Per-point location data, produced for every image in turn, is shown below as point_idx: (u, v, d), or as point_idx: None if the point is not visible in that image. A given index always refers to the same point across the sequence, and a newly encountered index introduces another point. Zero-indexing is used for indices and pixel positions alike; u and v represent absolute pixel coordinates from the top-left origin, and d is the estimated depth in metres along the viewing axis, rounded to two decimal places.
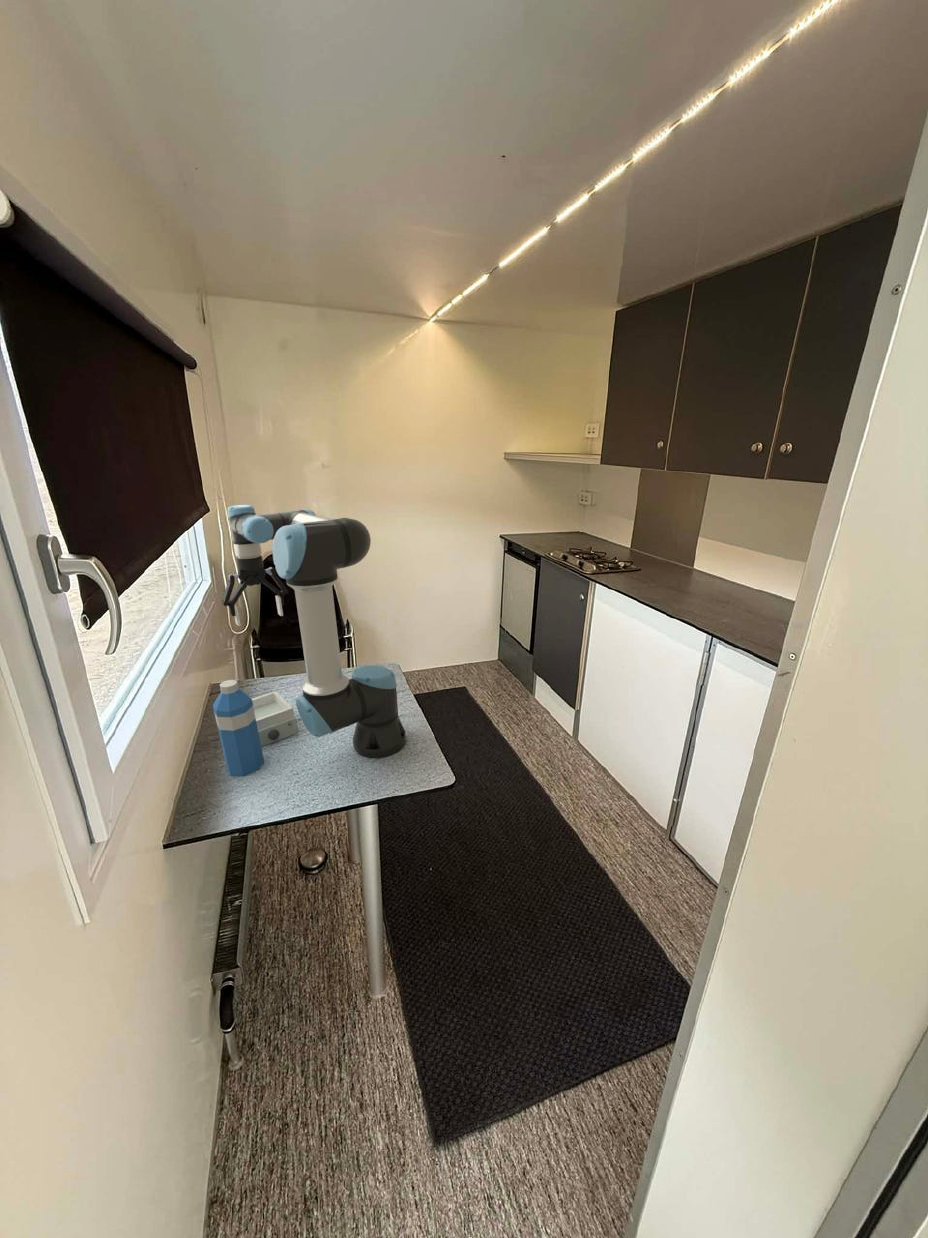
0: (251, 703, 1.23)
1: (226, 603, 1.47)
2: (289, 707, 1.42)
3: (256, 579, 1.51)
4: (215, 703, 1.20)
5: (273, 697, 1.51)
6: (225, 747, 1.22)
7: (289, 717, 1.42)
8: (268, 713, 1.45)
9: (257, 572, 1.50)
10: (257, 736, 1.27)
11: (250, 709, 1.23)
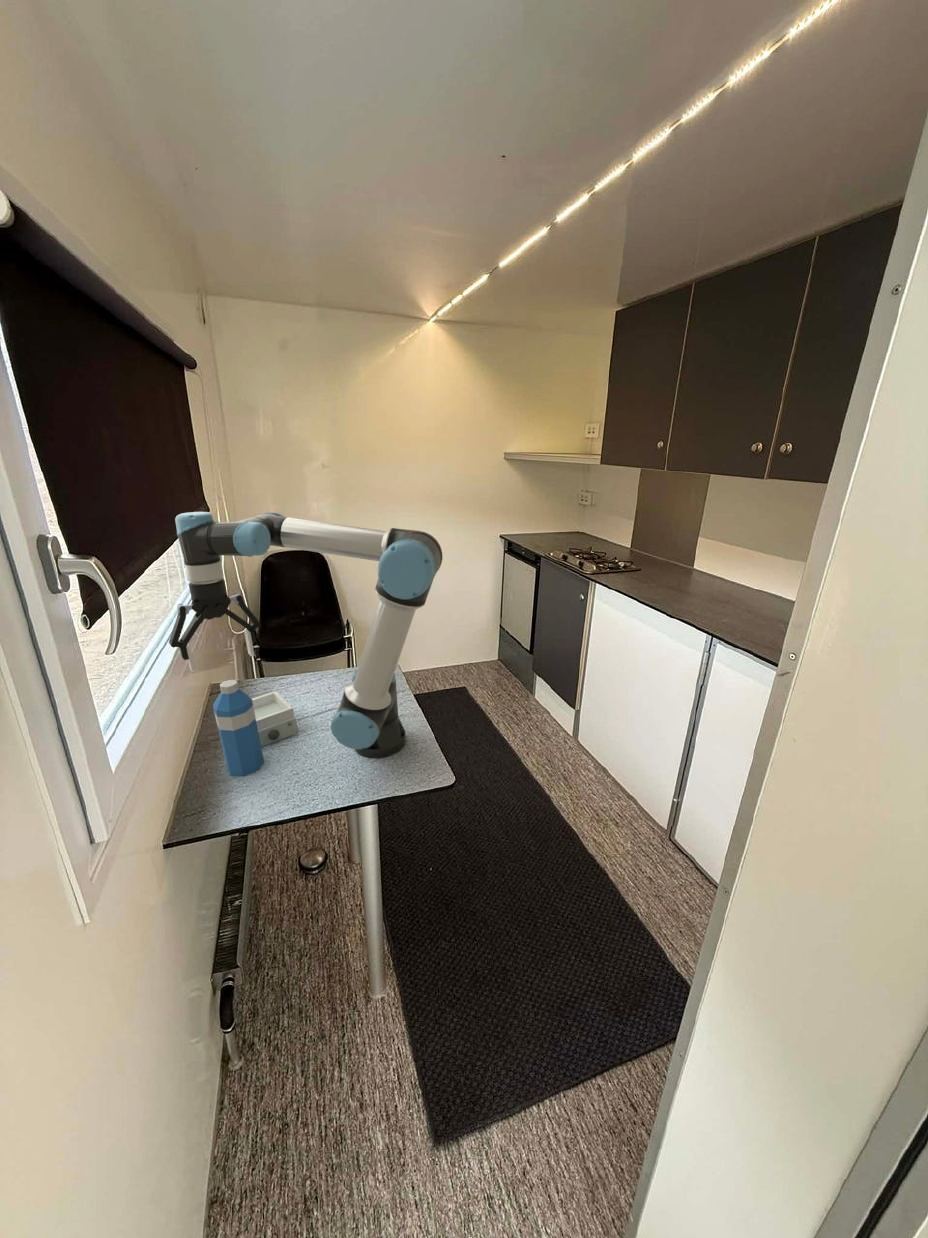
0: (251, 703, 1.23)
1: (175, 644, 1.09)
2: (289, 707, 1.42)
3: (217, 610, 1.13)
4: (215, 703, 1.20)
5: (273, 697, 1.51)
6: (225, 747, 1.22)
7: (289, 717, 1.42)
8: (268, 713, 1.45)
9: (218, 601, 1.13)
10: (257, 736, 1.27)
11: (250, 709, 1.23)
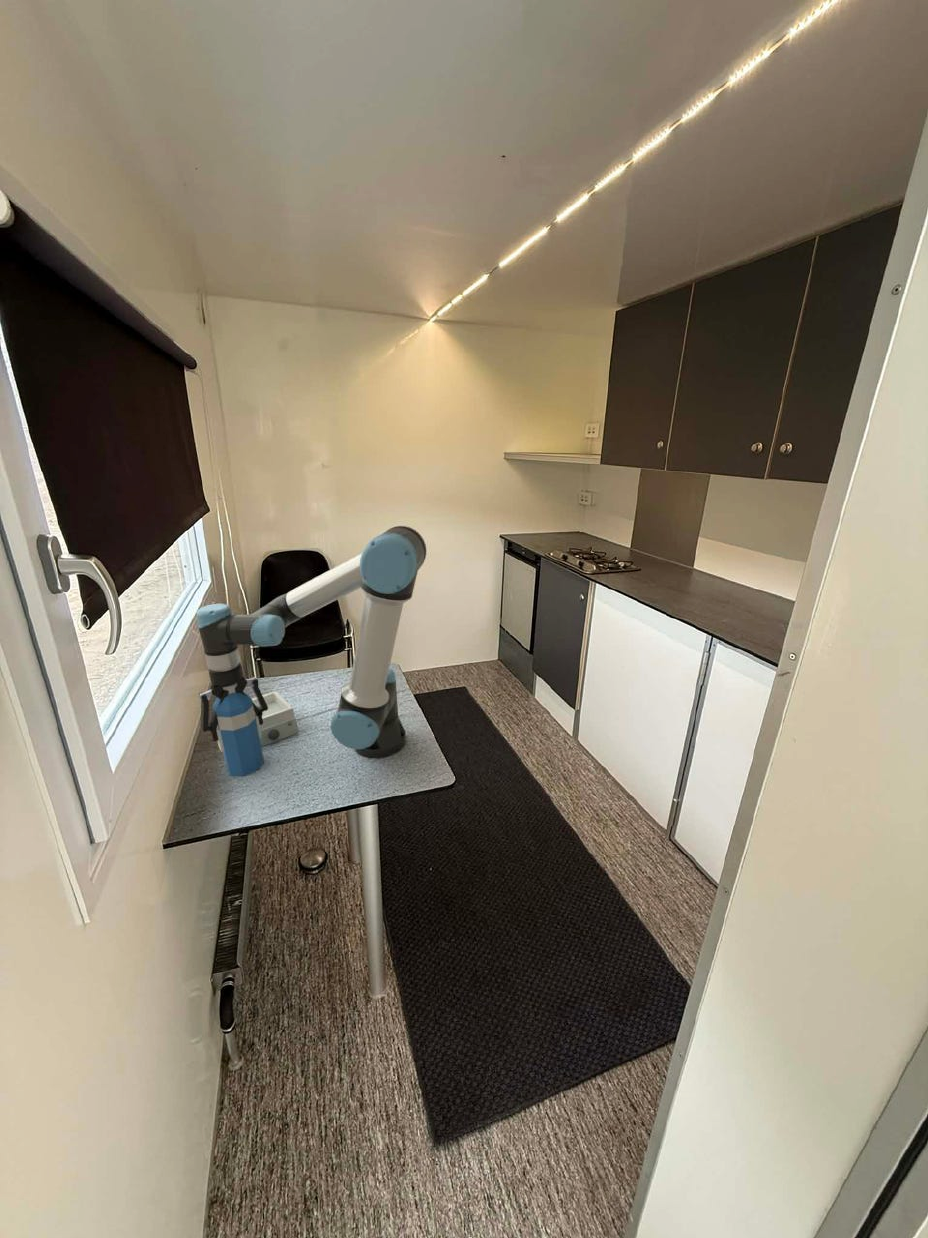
0: (251, 703, 1.23)
1: (206, 728, 1.18)
2: (289, 707, 1.42)
3: None
4: (215, 703, 1.20)
5: (273, 697, 1.51)
6: (225, 747, 1.22)
7: (289, 717, 1.42)
8: (268, 713, 1.45)
9: (236, 682, 1.21)
10: (257, 736, 1.27)
11: (250, 709, 1.23)
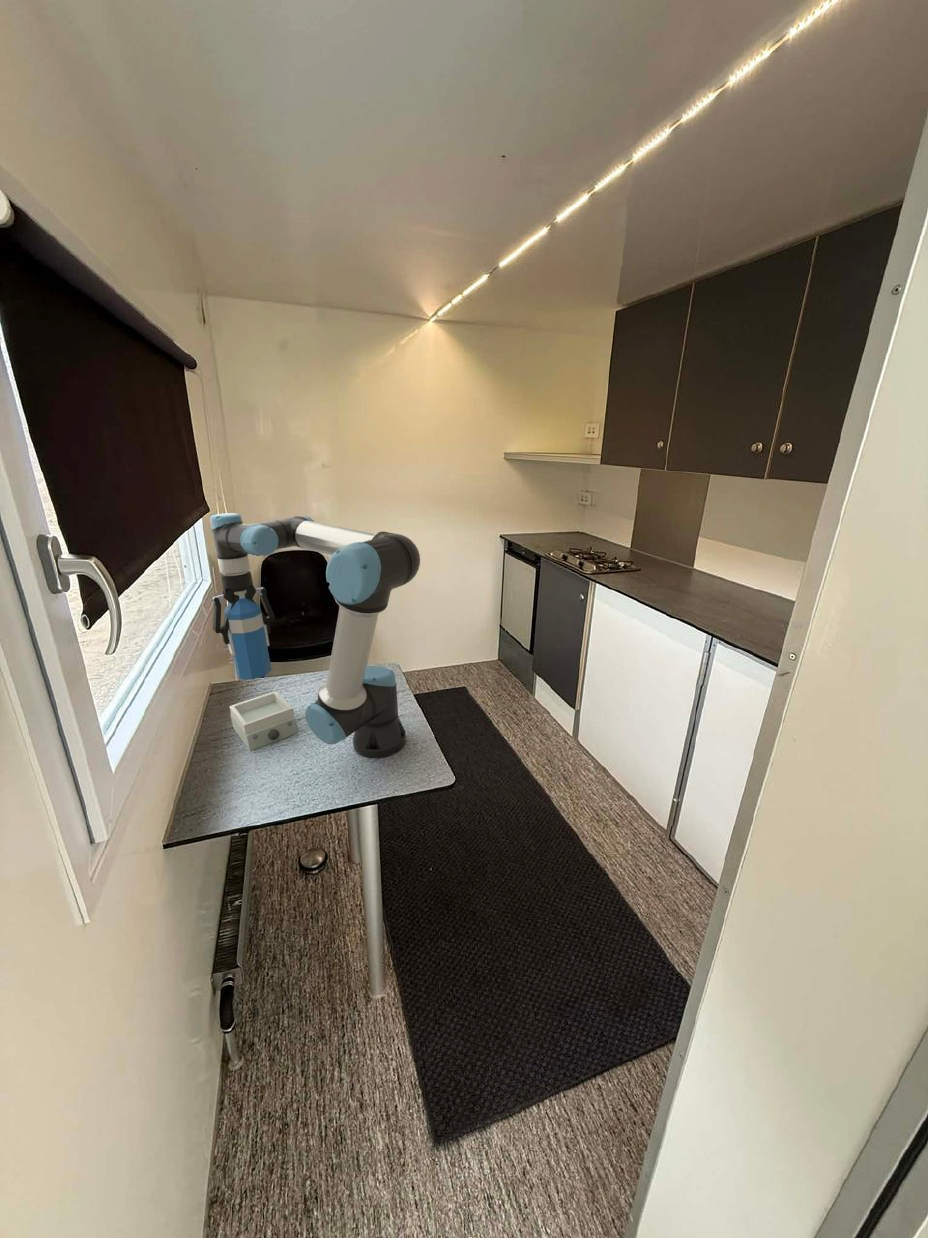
0: (260, 610, 1.33)
1: (218, 630, 1.28)
2: (289, 707, 1.42)
3: None
4: (226, 608, 1.30)
5: (273, 697, 1.51)
6: (236, 650, 1.32)
7: (289, 717, 1.42)
8: (268, 713, 1.45)
9: (246, 589, 1.30)
10: (265, 643, 1.36)
11: (259, 615, 1.33)
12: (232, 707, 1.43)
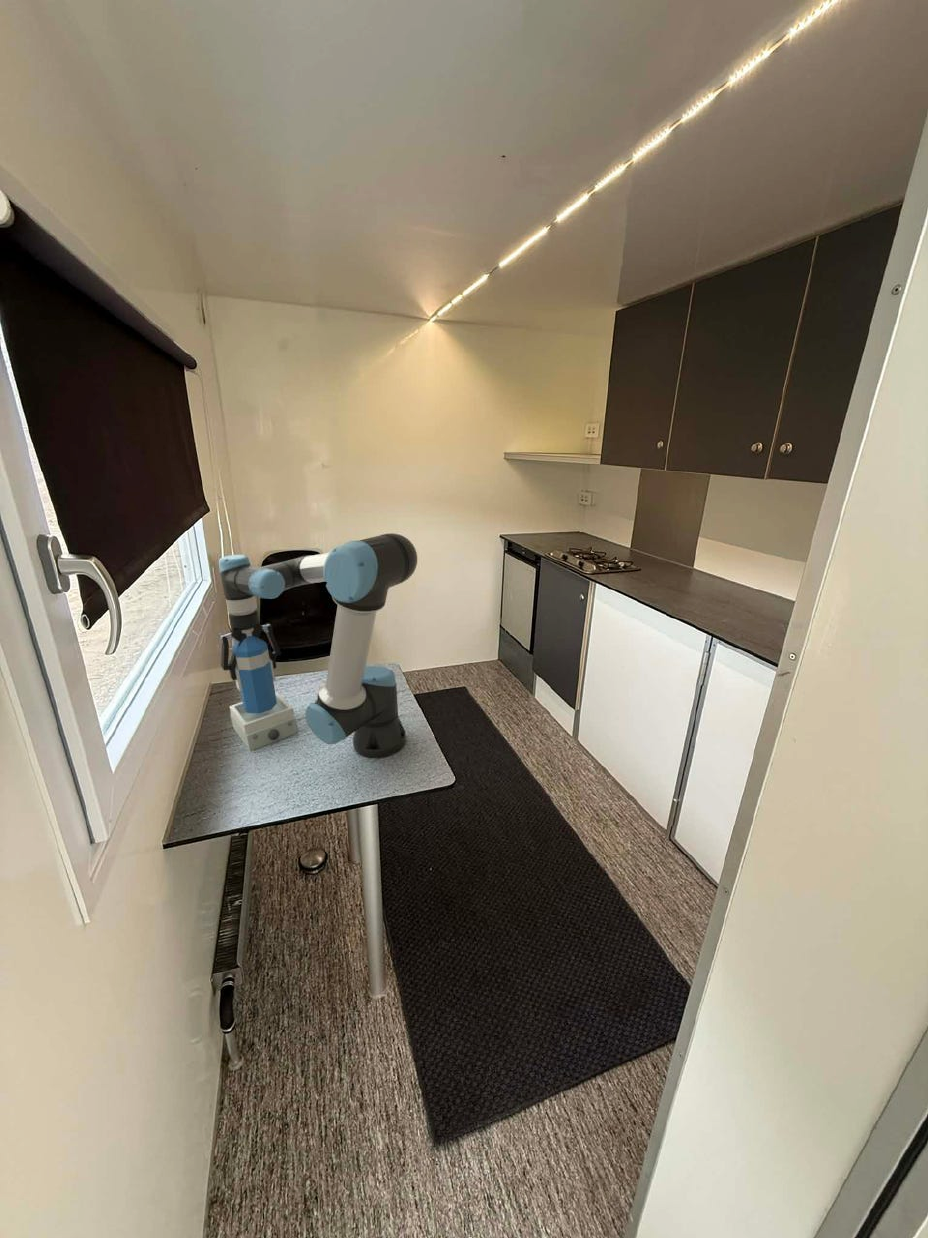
0: (266, 647, 1.37)
1: (226, 667, 1.32)
2: (289, 707, 1.42)
3: None
4: (234, 645, 1.34)
5: None
6: (243, 686, 1.35)
7: (289, 717, 1.42)
8: (268, 713, 1.45)
9: (252, 627, 1.34)
10: (271, 678, 1.40)
11: (265, 652, 1.36)
12: (232, 707, 1.43)
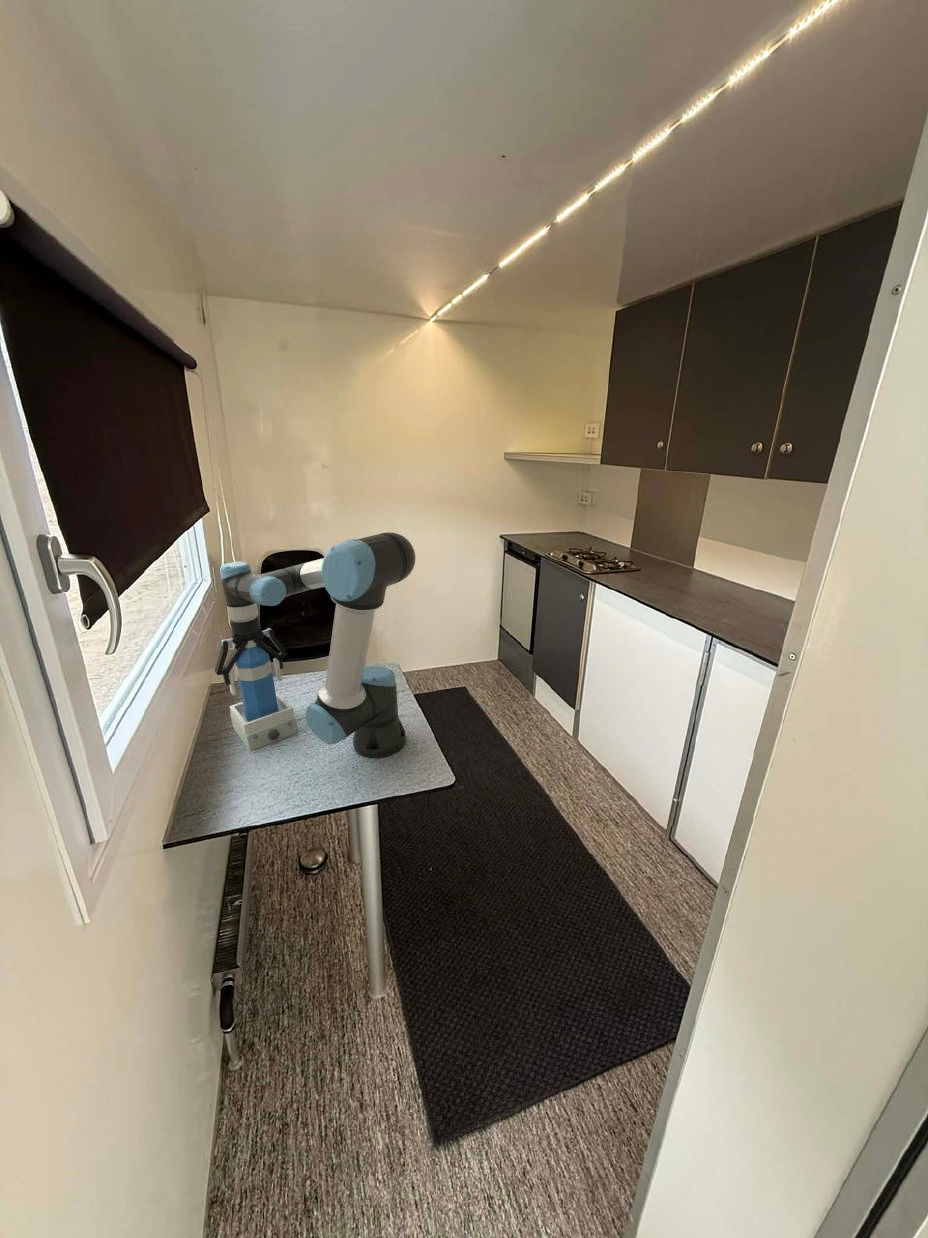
0: (268, 657, 1.38)
1: (219, 672, 1.31)
2: (289, 707, 1.42)
3: None
4: None
5: None
6: (245, 696, 1.37)
7: (289, 717, 1.42)
8: None
9: (253, 635, 1.34)
10: (273, 688, 1.41)
11: (268, 662, 1.38)
12: (232, 707, 1.43)
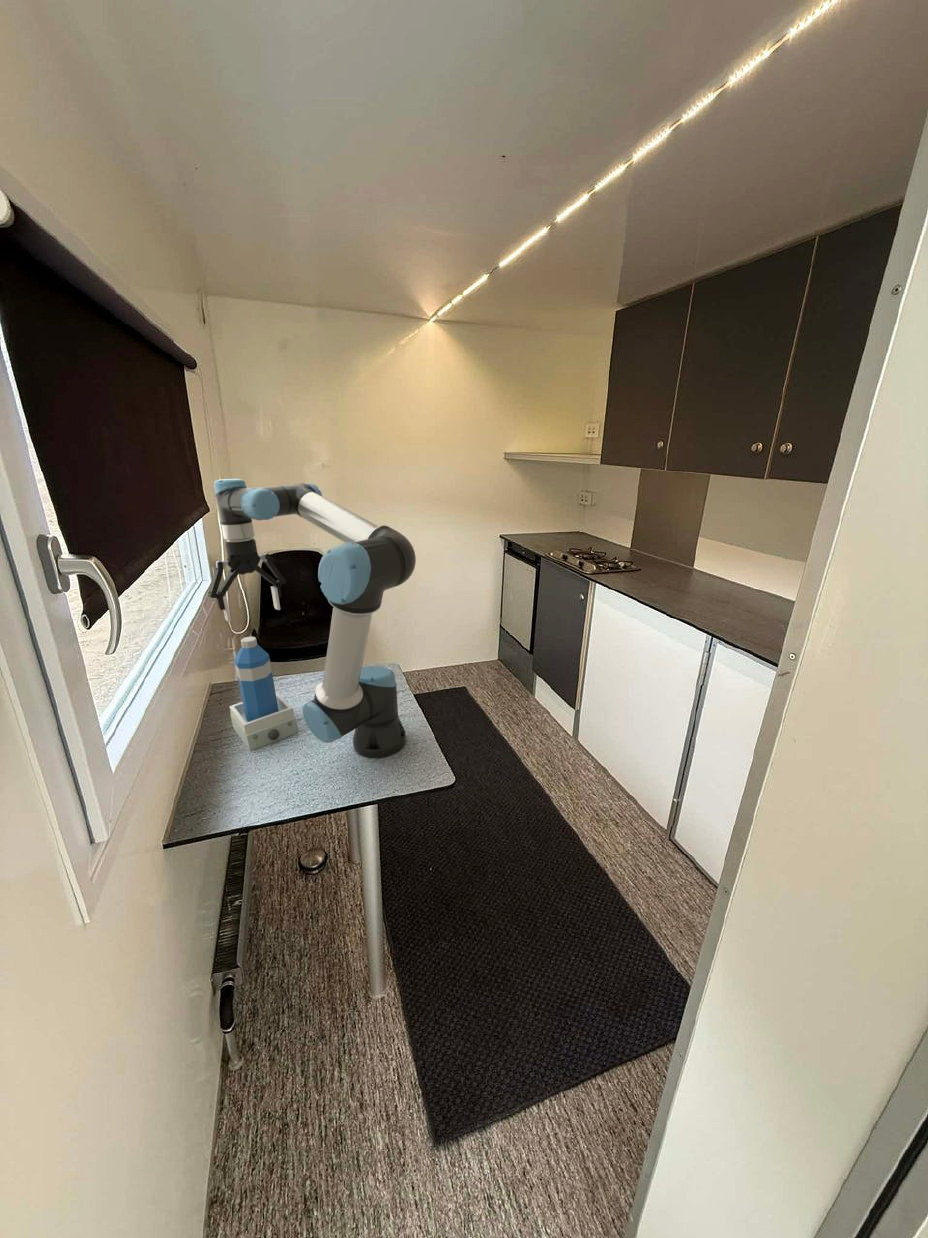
0: (268, 658, 1.38)
1: (214, 595, 1.25)
2: (289, 707, 1.42)
3: (248, 566, 1.29)
4: (236, 657, 1.35)
5: None
6: (245, 697, 1.37)
7: (289, 717, 1.42)
8: None
9: (250, 558, 1.29)
10: (273, 688, 1.41)
11: (268, 663, 1.38)
12: (232, 707, 1.43)
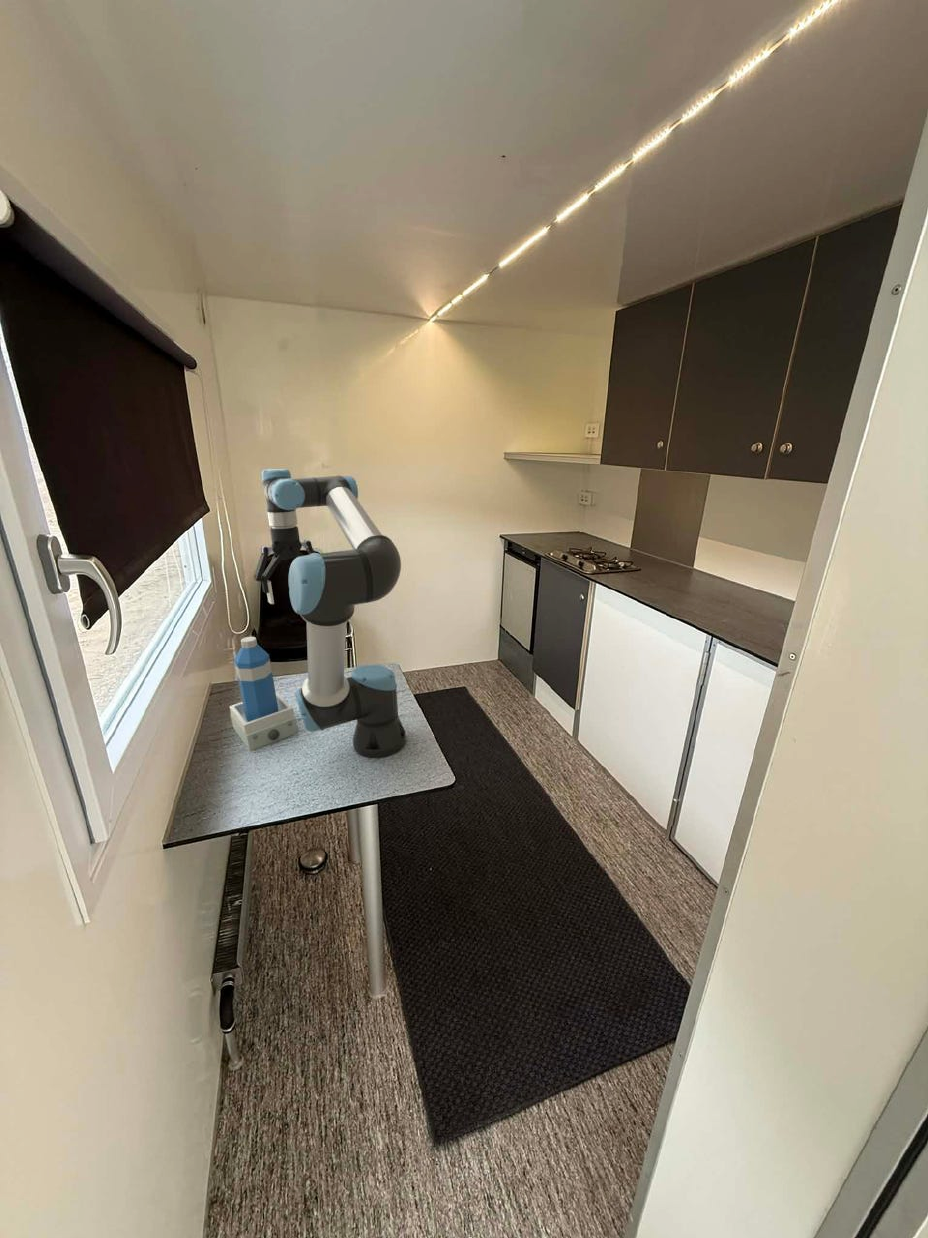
0: (268, 658, 1.38)
1: (259, 578, 1.32)
2: (289, 707, 1.42)
3: (291, 552, 1.37)
4: (236, 657, 1.35)
5: None
6: (245, 697, 1.37)
7: (289, 717, 1.42)
8: None
9: (292, 545, 1.36)
10: (273, 688, 1.41)
11: (268, 663, 1.38)
12: (232, 707, 1.43)
